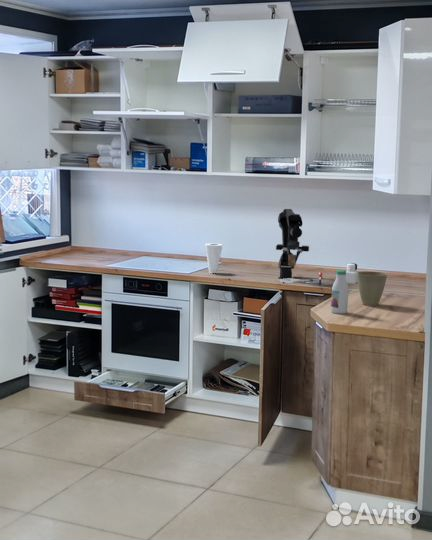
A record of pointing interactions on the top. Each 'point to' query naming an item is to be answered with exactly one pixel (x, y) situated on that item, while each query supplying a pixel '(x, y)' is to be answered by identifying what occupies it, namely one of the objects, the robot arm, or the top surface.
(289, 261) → the block
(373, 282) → the plant pot
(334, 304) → the milk bottle
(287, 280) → the tray
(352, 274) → the medicine bottle
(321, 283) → the crank plate
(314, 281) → the crank
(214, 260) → the cup
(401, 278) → the top surface
